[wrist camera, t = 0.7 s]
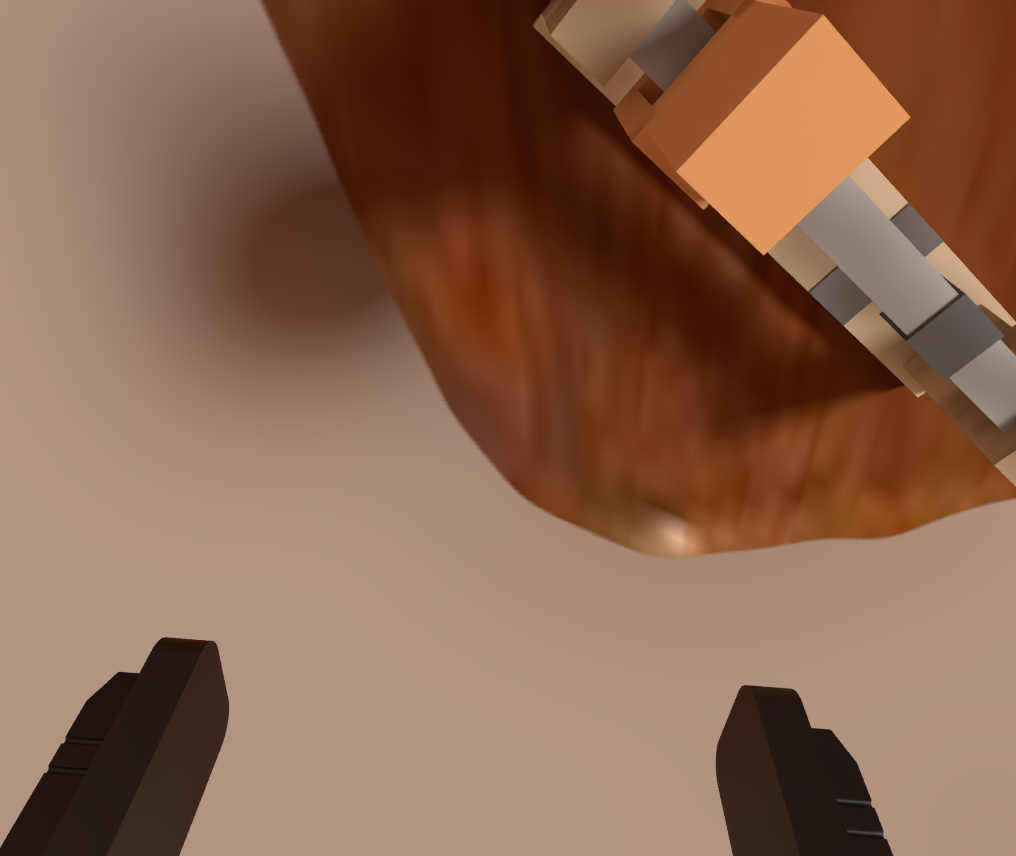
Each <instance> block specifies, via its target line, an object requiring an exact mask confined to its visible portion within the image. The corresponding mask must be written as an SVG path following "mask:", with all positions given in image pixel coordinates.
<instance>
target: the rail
mask: <svg viewBox="0 0 1016 856" xmlns="http://www.w3.org/2000/svg"><path fill="white" fill-rule="evenodd" d="M705 1H706V0H551V1H550V2H549V3H548V5H547V6H546V7H545V9H544V10H543V11H542V13H541V14H540V15H539V17H538V18H537V19H536V21H535V22H534V23H533V27H534V28H535V29H536V30H537V31H538V32H539V33H540V34H541V35H542V36H543V37H544V38H545V39H546V40H547V41H549V42H550V43H551V44H552V45H553V46H554V47H555V48H556V49H557V50H558V51H559V52H560V53H561V54H562V55H563V56H564V57H565V58H566V59H567V60H568V61H569V62H570V63H571V64H572V65H573V66H574V67H576V68H577V69H578V70H579V71H580V72H581V73H582V74H583V75H584V76H585V77H586V78H587V79H588V80H589V81H590V82H591V83H592V84H593V85H594V86H595V87H596V88H597V89H598V90H599V91H600V92H601V93H602V94H604V95H605V96H606V97H607V98H608V99H609V100H610V101H611V102H612V103H613V104H614V105H615V106H617V104H618V103H619V102H620V101H621V100H622V99H623V97H624V96H625V95H626V94H627V93H628V92H629V90H630V89H631V88H632V87H633V86H634V85H635V83H636V82H637V81H638V80H639V79H640V77H641V76H642V75H643V74H644V73H645V74H646V75H647V76H648V77H649V78H650V79H651V80H652V81H653V82H654V83H655V84H656V85H657V86H658V87H659V88H660V89H661V90H662V91H663V92H665V91H666V90H667V88H668V87H669V86H670V85H671V84H672V83H673V82H674V80H675V79H676V78H677V77H678V76H679V75H680V74H681V72H682V71H683V70H684V69H685V68H686V67H687V66H688V64H689V63H690V62H691V61H692V60H693V59H694V58H695V56H696V55H697V54H698V53H699V52H700V51H701V50H702V49H703V47H704V46H705V45H706V44H707V43H708V42H709V41H710V39H711V38H712V37H713V36H714V35H715V34H716V32H715V31H714V30H713V28H712V27H711V26H710V25H709V24H708V23H707V22H706V21H705V20H704V19H703V18H702V17H701V15H700V14H699V13H698V12H697V11H698V9H699V8H700V7H701V6H702V5H703V4H704V2H705ZM768 253H769V254H770V255H771V256H772V257H773V258H774V259H775V260H776V261H777V262H778V263H779V264H780V265H781V266H782V267H783V268H784V269H785V270H786V271H787V272H788V273H789V274H790V275H791V276H792V277H793V278H795V279H796V280H797V281H798V282H799V283H800V284H801V285H802V286H803V287H804V288H805V289H806V290H807V291H808V292H809V293H810V294H811V295H812V296H813V297H814V298H815V299H816V300H817V301H818V302H819V303H820V304H821V305H822V306H823V307H824V308H825V309H827V310H828V311H829V312H830V313H831V314H832V315H833V316H834V317H835V318H836V319H837V320H838V321H839V322H840V323H841V324H842V325H843V326H844V327H845V328H846V329H847V330H848V331H850V332H851V333H852V334H853V335H854V336H855V337H856V338H857V339H858V340H859V341H860V342H861V343H862V344H863V345H864V346H865V347H866V348H867V349H868V350H869V351H870V352H871V353H872V354H873V355H874V356H875V357H876V358H878V359H879V360H880V361H881V362H882V363H883V364H884V365H885V366H886V367H887V368H888V369H889V370H890V371H891V372H892V373H893V374H894V375H895V376H896V377H897V378H898V379H899V380H900V381H901V382H902V383H903V384H905V385H906V386H907V387H908V388H909V389H910V390H911V391H912V392H913V393H914V394H915V395H916V396H917V397H919V396H921V395H922V394H923V393H925V392H927V393H928V394H929V395H930V396H931V398H932V399H933V400H934V401H935V402H936V403H937V404H938V405H939V406H940V407H941V408H942V409H943V410H944V412H945V413H946V414H947V415H948V416H949V417H950V418H951V419H952V420H953V421H954V422H955V423H956V424H957V426H958V427H959V428H960V429H961V430H962V431H963V432H964V433H965V434H966V435H967V436H968V437H969V438H970V440H971V441H972V442H973V443H974V444H975V445H976V446H977V447H978V448H979V449H980V450H981V451H982V452H983V454H984V455H985V456H986V457H987V458H988V459H989V460H990V461H991V462H992V463H993V464H994V465H995V466H996V467H997V468H998V469H999V470H1000V471H1001V472H1002V473H1003V474H1004V475H1005V476H1006V477H1007V478H1008V479H1009V480H1010V481H1011V482H1012V483H1013V484H1014V485H1015V486H1016V330H1015V329H1014V328H1013V327H1012V326H1014V325H1015V324H1016V322H1015V321H1014V320H1013V318H1012V317H1011V316H1010V315H1009V314H1008V313H1007V312H1006V311H1005V310H1004V308H1003V307H1002V306H1001V305H1000V304H999V303H998V302H997V301H996V300H995V298H994V297H993V296H992V295H991V294H990V293H989V292H988V291H987V290H986V288H985V287H984V286H983V285H982V284H981V283H980V282H979V281H978V280H977V278H976V277H975V276H974V275H973V274H972V273H971V272H970V271H969V270H968V269H967V267H966V266H965V265H964V264H963V263H962V262H961V261H960V260H959V259H958V257H957V256H956V255H955V254H954V253H953V252H952V251H951V250H950V249H949V247H948V246H947V245H946V244H945V243H944V241H943V240H942V239H941V238H940V237H939V236H938V235H937V234H936V233H935V231H934V230H933V229H932V228H931V227H930V226H929V225H928V224H927V223H926V221H925V220H924V219H923V218H922V217H921V216H920V215H919V214H918V213H917V211H916V210H915V209H914V208H913V207H912V206H911V205H910V204H909V203H908V202H907V201H906V200H905V199H904V198H903V196H902V195H901V194H900V193H899V192H898V191H897V190H896V189H895V188H894V186H893V185H892V184H891V183H890V182H889V181H888V180H887V179H886V178H885V176H884V175H883V174H882V173H881V172H880V171H879V170H878V169H877V168H876V166H875V165H874V164H873V163H872V162H871V161H870V160H869V159H868V158H867V159H866V160H865V161H864V162H862V163H861V164H860V165H859V166H858V167H857V168H856V169H855V170H854V171H853V172H852V173H851V174H850V175H849V176H848V177H846V178H845V179H844V180H843V181H842V182H841V183H840V184H839V185H838V186H837V187H836V188H835V189H834V190H833V191H832V192H831V193H829V194H828V195H827V196H826V197H825V198H824V199H823V200H822V201H821V202H820V203H819V204H818V205H817V206H816V207H815V208H814V209H812V210H811V211H810V212H809V213H808V214H807V215H806V216H805V217H804V218H803V219H802V220H801V221H800V222H799V223H798V224H796V225H795V226H794V227H793V228H792V229H791V230H790V231H789V232H788V233H787V234H786V235H785V236H784V237H783V238H782V239H781V240H779V241H778V242H777V243H776V244H775V245H774V246H773V247H772V248H771V249H770V250H769V251H768Z"/></svg>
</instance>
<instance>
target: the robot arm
mask: <svg viewBox="0 0 1016 856" xmlns="http://www.w3.org/2000/svg"><path fill="white" fill-rule="evenodd" d="M228 717H229V700H228V696H227V690H226V686H225V680H224V676H223V671H222V666H221V661H220V656H219V651H218V647H217V644H216V643H215V642H214V641H206V640H192V639H181V638H167V637H165V638H162V639H160V640H159V641H158V642H157V643H156V645H155V646H154V647H153V649H152V651H151V653H150V655H149V657H148V658H147V660H146V662H145V664H144V666H143V668H142V669H141V671H140V673H127V672H118V673H117V674H116V675H114V677H112V678H111V679H110V680H109V681H108V682H107V683H106V684H105V685H104V686H103V687H102V688H100V689H99V690H98V691H97V692H96V693H95V694H94V695H93V696H91V697H90V698H89V699H88V700H87V701H86V703H85V704H84V706H83V708H82V710H81V711H80V713H79V715H78V716H77V718H76V720H75V721H74V723H73V725H72V726H71V728H70V730H69V732H68V733H67V735H66V740H65V742H64V744H63V743H62V744H61V745H60V747H59V749H58V750H57V752H56V754H55V756H54V757H53V759H52V761H51V762H50V764H49V769H48V771H47V773H44V774H43V776H42V778H41V779H40V781H39V783H38V784H37V786H36V788H35V790H34V791H33V793H32V795H31V796H30V798H29V800H28V802H27V803H26V805H25V806H24V808H23V810H22V812H21V813H20V815H19V817H18V818H17V820H16V822H15V824H14V825H13V827H12V829H11V830H10V832H9V834H8V835H7V837H6V839H5V841H4V842H3V844H2V846H1V848H0V856H179V855H180V852H181V849H182V847H183V844H184V842H185V839H186V837H187V834H188V831H189V829H190V826H191V824H192V821H193V819H194V816H195V813H196V811H197V808H198V806H199V803H200V801H201V798H202V796H203V793H204V790H205V788H206V785H207V782H208V780H209V777H210V775H211V772H212V769H213V767H214V764H215V762H216V759H217V757H218V754H219V752H220V749H221V746H222V743H223V741H224V737H225V734H226V729H227V724H228ZM716 776H717V783H718V788H719V792H720V798H721V802H722V807H723V811H724V816H725V820H726V825H727V830H728V835H729V839H730V844H731V848H732V853H733V856H893V854H892V852H891V849H890V846H889V844H888V841H887V839H884V837H883V828H882V826H881V823H880V821H879V818H878V816H877V813H876V811H875V808H872V806H871V798H870V795H869V793H868V790H867V788H866V785H865V782H864V780H863V777H862V775H861V772H860V770H859V767H858V764H857V762H856V761H855V760H854V759H853V757H852V756H851V755H850V754H849V752H848V751H847V750H846V749H845V747H844V746H843V745H842V744H841V742H840V741H839V740H838V738H837V737H836V736H835V735H834V733H833V732H832V731H831V730H828V729H816V728H811V726H810V723H809V721H808V717H807V715H806V712H805V709H804V706H803V703H802V701H801V698H800V697H799V695H798V694H797V692H796V691H795V690H793V689H786V688H774V687H762V686H748V685H744V686H742V687H741V688H740V690H739V692H738V694H737V697H736V699H735V702H734V704H733V707H732V709H731V712H730V714H729V716H728V719H727V721H726V724H725V726H724V729H723V731H722V734H721V736H720V739H719V742H718V745H717V751H716Z"/></svg>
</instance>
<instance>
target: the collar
mask: <svg viewBox="0 0 1016 856" xmlns="http://www.w3.org/2000/svg"><path fill="white" fill-rule="evenodd" d="M697 12H698V13H699V14H700V15H701V17H702V18H703V19H704V20H705V21H706V22H707V23H708V24H709V25H710V26H711V27H712V28H713V30H714V31H715V32H716V34H715V35H714V36H713V37H712V38H711V39H710V41H709V42H708V43H707V44H706V45H705V46H704V47H703V49H702V50H701V51H700V52H699V53H698V54H697V55H696V56H695V58H694V59H693V60H692V61H691V62H690V63H689V64H688V66H687V67H686V68H685V69H684V70H683V71H682V72H681V74H680V75H679V76H678V77H677V78H676V79H675V80H674V82H673V83H672V84H671V85H670V86H669V87H668V88H667V90H666V91H665V92H663V91H662V90H661V89H660V88H659V87H658V86H657V85H656V84H655V83H654V82H653V81H652V80H651V79H650V78H649V77H648V76H647V75H646V74H645V73H644V74H643V75H642V76H641V77H640V79H639V80H638V81H637V82H636V83H635V85H634V86H633V87H632V88H631V89H630V90H629V92H628V93H627V94H626V95H625V96H624V97H623V99H622V100H621V101H620V102H619V103H618V104H617V106H616V107H615V108H614V109H613V111H614V113H615V115H616V116H617V118H618V120H619V121H620V123H621V125H622V126H623V128H624V130H625V131H626V133H627V135H628V136H629V138H630V140H631V141H632V143H634V144H635V145H636V146H637V147H638V148H639V149H640V150H641V151H642V152H643V153H644V154H645V155H646V156H647V157H648V158H649V159H650V160H651V161H652V162H654V163H655V164H656V165H657V166H658V167H659V168H660V169H661V170H662V171H663V172H664V173H665V174H666V175H667V176H668V177H669V178H670V179H671V180H672V181H674V182H675V183H676V184H677V185H678V186H679V187H680V188H681V189H682V190H683V191H684V192H685V193H686V194H687V195H688V196H689V197H690V198H691V199H692V200H694V201H695V202H696V203H697V204H698V205H699V206H700V207H701V208H702V209H703V210H704V209H705V208H706V207H707V206H708V205H709V204H710V205H711V206H712V207H713V208H715V209H716V210H717V211H718V212H719V213H720V214H721V215H722V216H723V217H724V218H725V219H726V220H727V221H728V222H729V223H730V224H731V225H732V226H733V227H734V228H735V229H736V230H737V231H739V232H740V233H741V234H742V235H743V236H744V237H745V238H746V239H747V240H748V241H749V242H750V243H751V244H752V245H753V246H754V247H755V248H756V249H757V250H758V251H759V252H760V253H761V254H763V255H765V254H766V253H767V252H768V251H769V250H770V249H771V248H772V247H773V246H774V245H775V244H776V243H777V242H778V241H779V240H781V239H782V238H783V237H784V236H785V235H786V234H787V233H788V232H789V231H790V230H791V229H792V228H793V227H794V226H795V225H796V224H798V223H799V222H800V221H801V220H802V219H803V218H804V217H805V216H806V215H807V214H808V213H809V212H810V211H811V210H812V209H814V208H815V207H816V206H817V205H818V204H819V203H820V202H821V201H822V200H823V199H824V198H825V197H826V196H827V195H828V194H829V193H831V192H832V191H833V190H834V189H835V188H836V187H837V186H838V185H839V184H840V183H841V182H842V181H843V180H844V179H845V178H846V177H848V176H849V175H850V174H851V173H852V172H853V171H854V170H855V169H856V168H857V167H858V166H859V165H860V164H861V163H862V162H864V161H865V160H866V159H867V158H868V157H869V156H870V155H871V154H872V153H873V152H874V151H875V150H876V149H877V148H878V147H879V146H881V145H882V144H883V143H884V142H885V141H886V140H887V139H888V138H889V137H890V136H891V135H892V134H893V133H894V132H895V131H896V130H898V129H899V128H900V127H901V126H902V125H903V124H904V123H905V122H906V121H907V120H908V119H909V118H910V116H909V115H908V114H907V113H906V112H905V110H904V109H903V108H902V107H901V106H900V104H899V103H898V102H897V101H896V100H895V99H894V97H893V96H892V95H891V94H890V93H889V92H888V90H887V89H886V88H885V87H884V86H883V84H882V83H881V82H880V81H879V80H878V79H877V77H876V76H875V75H874V74H873V73H872V71H871V70H870V69H869V68H868V67H867V66H866V64H865V63H864V62H863V61H862V60H861V59H860V57H859V56H858V55H857V54H856V53H855V51H854V50H853V49H852V48H851V47H850V46H849V44H848V43H847V42H846V41H845V40H844V39H843V37H842V36H841V35H840V34H839V33H838V31H837V30H836V29H835V28H834V27H833V26H832V24H831V23H830V22H829V21H828V20H827V18H826V17H825V16H824V15H823V14H818V13H813V12H808V11H803V10H798V9H793V8H792V7H791V6H790V5H789V3H788V2H787V1H786V0H706V1H705V2H704V4H703V5H702V6H701V7H700V8H699V9H698V11H697Z"/></svg>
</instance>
